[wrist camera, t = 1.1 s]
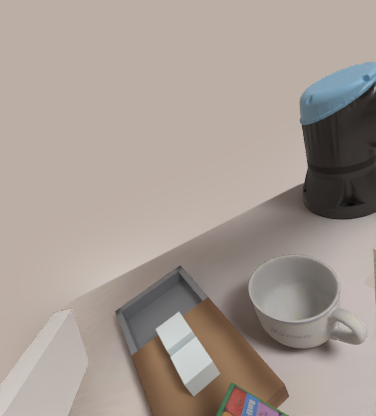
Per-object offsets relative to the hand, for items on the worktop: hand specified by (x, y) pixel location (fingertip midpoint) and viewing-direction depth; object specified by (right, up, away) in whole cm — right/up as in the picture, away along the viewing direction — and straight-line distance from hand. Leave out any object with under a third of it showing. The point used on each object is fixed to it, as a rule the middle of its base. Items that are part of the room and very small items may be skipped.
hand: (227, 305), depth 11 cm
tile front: (0, -16, +22) cm, 27 cm away
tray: (-6, -14, +35) cm, 38 cm away
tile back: (-3, -15, +26) cm, 30 cm away
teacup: (+15, -12, +25) cm, 31 cm away
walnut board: (+1, -19, +24) cm, 30 cm away
